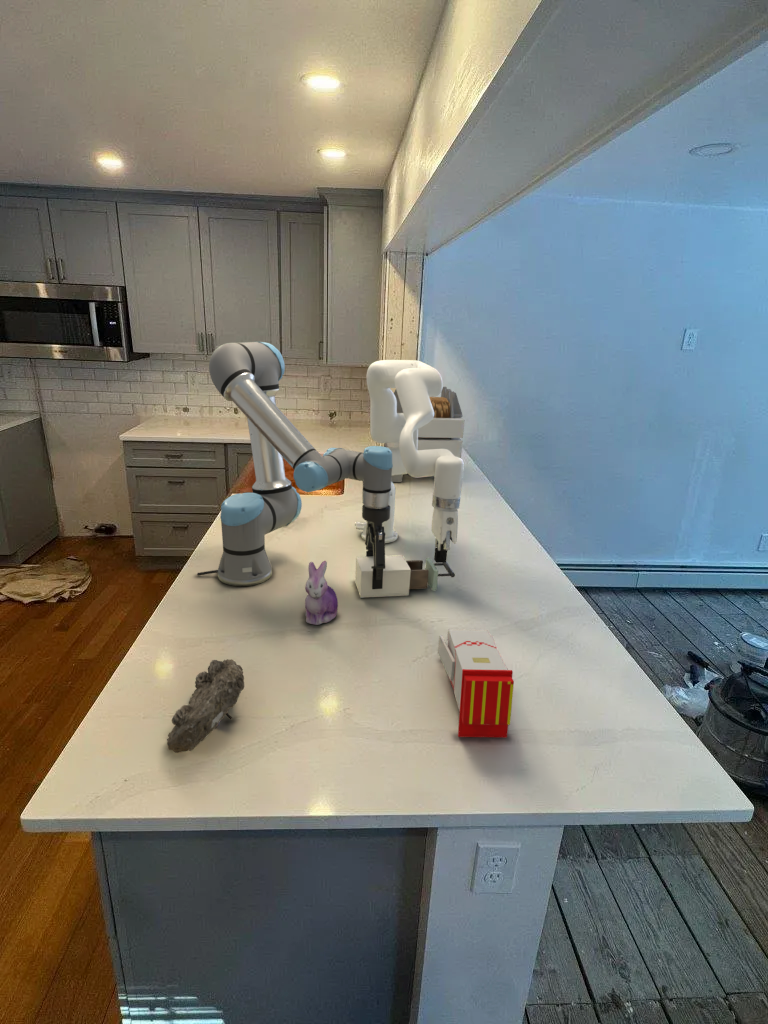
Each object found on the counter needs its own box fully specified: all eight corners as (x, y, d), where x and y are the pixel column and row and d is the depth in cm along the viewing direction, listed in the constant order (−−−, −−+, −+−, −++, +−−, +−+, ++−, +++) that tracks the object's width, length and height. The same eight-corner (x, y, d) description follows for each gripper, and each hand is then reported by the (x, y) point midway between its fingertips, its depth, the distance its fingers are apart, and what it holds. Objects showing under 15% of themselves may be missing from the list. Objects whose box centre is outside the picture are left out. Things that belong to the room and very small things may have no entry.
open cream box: (401, 579, 166) (402, 555, 164) (408, 595, 157) (410, 569, 155) (355, 581, 163) (356, 556, 161) (360, 597, 155) (361, 571, 152)
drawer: (445, 576, 168) (447, 557, 166) (454, 589, 160) (456, 569, 158) (386, 578, 164) (388, 559, 162) (393, 592, 157) (394, 572, 155)
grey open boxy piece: (382, 463, 289) (386, 382, 275) (445, 464, 293) (451, 384, 279) (390, 482, 257) (394, 392, 243) (460, 483, 261) (468, 394, 247)
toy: (488, 613, 130) (523, 677, 101) (484, 667, 133) (517, 744, 104) (435, 612, 130) (455, 676, 101) (432, 666, 133) (451, 743, 103)
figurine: (310, 630, 138) (310, 574, 133) (296, 610, 147) (296, 557, 141) (346, 622, 142) (347, 568, 137) (330, 603, 151) (331, 552, 146)
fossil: (192, 660, 117) (244, 628, 112) (224, 691, 120) (276, 661, 115) (142, 746, 98) (202, 712, 93) (182, 779, 101) (242, 748, 96)
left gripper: (399, 518, 142) (395, 598, 149) (382, 491, 162) (379, 562, 170) (369, 520, 140) (367, 599, 148) (356, 492, 161) (354, 563, 168)
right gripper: (468, 510, 149) (460, 573, 156) (450, 491, 163) (444, 549, 169) (440, 511, 148) (434, 574, 154) (425, 492, 161) (420, 550, 168)
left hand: (373, 579), depth 159 cm, fingers closed on open cream box, 10 cm apart
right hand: (440, 561), depth 162 cm, fingers closed
